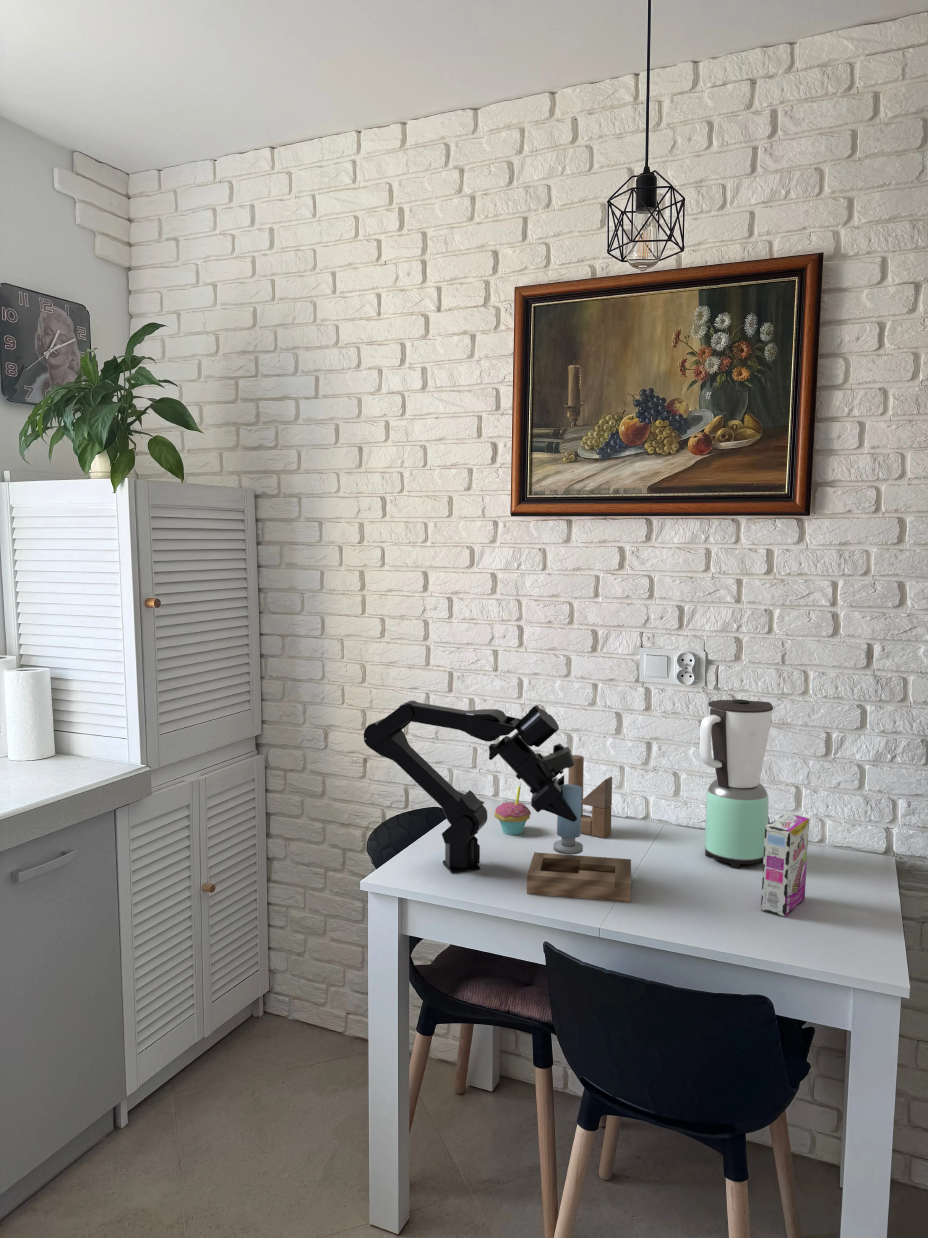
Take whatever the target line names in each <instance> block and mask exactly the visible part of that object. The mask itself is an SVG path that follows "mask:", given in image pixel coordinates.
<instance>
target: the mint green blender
mask: <svg viewBox="0 0 928 1238" xmlns="http://www.w3.org/2000/svg"><path fill="white" fill-rule="evenodd" d="M707 705H708V715H707V716H705V717H703V719H702V720H701V723H700V726H699V747H698V748H699V757H700V759H701V761H702V762H703V764H704V765H706V767H707V766H708V767H709V768H712V769H713V768H714V769H715V775H716V779H714V780H713V781H711V783H710V785H709V787H708V788H707V792H706V798H705V799H706V801H705V802H706V803H705V805H706V806H705V828H704V829H705V830H704V831H705V832H704V849H705V850H704V852H705V854H704V856H705V857H707V858H713V859H714V860H717V861H720V862H722V863H723V862H724V863H727V864H730V868H732V869H736V870H737V869H740V868H741V865H753V864H760V863H761V864H763V859H764V840H765V826H766V825H768V824H769V823H771V820H770V817H769V802H770V801H769V794H768V792H767V789H766V788H765V787H764V785H763V784H762V783H760V781H761V777H762V776H761V775H762V771H763V766H764V765H763V764H764V760H765V755H766V750H767V746H768V739H769V735H770V730H771V725H772V719H773V718H772V717H773V710H774V706H773V705H772V703H771V702H769V701H758V700H747V699H739V698H737V699H718V700H712V701H709V702H708V703H707ZM712 752H713V753H712ZM712 754H713V757H712Z"/></svg>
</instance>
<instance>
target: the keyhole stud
mask: <svg viewBox="0 0 928 1238" xmlns="http://www.w3.org/2000/svg"><path fill="white" fill-rule="evenodd" d="M562 786H563V797H564V799H565V800H566V802H567V803H568V805H569V806H570V808H571V809H572V811H573V812H574V814H575V815H576V817H577V820H576V821H575V822H572V821H570V820H567V819H565V818H563V817H560V816H558V815H556V817H557V819H556V835H557V836H558V837H561V839H559V840H556V841H554V842H553V847H552V848H553V851H555V853H557V854H565V855H579V854H581V853H582V852H583V849H584V844H583V843H582V842H580V841H576V838H580V837H581V833H580V831H581V801H582V787H580V786H578V785H572V784H567V783H566V784H565V783H564V785H560V788H561V787H562Z"/></svg>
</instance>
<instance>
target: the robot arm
mask: <svg viewBox="0 0 928 1238" xmlns="http://www.w3.org/2000/svg"><path fill="white" fill-rule="evenodd" d="M411 722H412V723H418V724H424V725H430V726H434V727H435V726H436V727H439V728H440V727H441V728H446V729H452V730H458V731H461V732H464V733H466V734H468V735H469V736H471V737H472V738H476V739H478V740H481V741H484V742H486V743H488V742H490V745H489V746H488V750H489V753H488V759H489V761H492V760H493V759H494V758H496V757H497V756H498V755H499V757H500V758H501V759H502V760H503V761H504V762H505V763H506V764H507V765H508V767H510V768H511V769H512V770H513V771H514V772H515V777H516V778H517V779H518V780H519V781H520V780H522V782H524V783H525V784H526V786H528V787H529V792H530V793H531V794H532V796H531V799H530V801H531V803H530V806H531V807H532V808H533V809H534V811H535V812H537V813H539V812H541V811H545V812H548V813H550V814H553V815H556V816H557V815H558V816H560V817H563V818H565V819H567V820H570V821H572V822H575V821H576V820H577V817H576V815H575V814H574V812H573V811H572V809H571V808H570V806H569V805H568V803H567V802H566V800H565V799H564V797H563V786H562V787H561V788H560V785H564V784H565V775H562V774H563V773H564V770H565V769H569V768H570V767H572V766H574V762H575V760H574V758H573V756H572V755H573V753H572V751H571V749H570V747H568V746H564V745H563V744H561V743H557V744H555V745H553V750H552V752H550V753H548V754H547V755H545V756H544V755H543V754H542V753H540V752H535V751H534V750H533V749H532V748H531V747H536V748H539V747H541V746H542V745H543V744H544V743H545V742H546V741H548V739H550V738H552V736H553V735H554V734H556V732H558V731H559V730H560V726H559V724H558V722H557V721H556V719H555V718H554V717H553V715H552V714H551V713H548V712H547V711H545V710H544V709H542V708H541V707H540V706H539V705H538V704H535V705H534V706H532V708H530V710H529V711H528V712H527V713H526V714H525V715H524V716H523V717H522V718H517V717H514V716H509V715H506V714H505V712H504V711H503V710H501V709H497V708H493V709H489V708H488V709H487V708H485V709H484V708H481V709H474V710H473V709H471V710H469V709H468V710H465V709H459V708H453V707H446V706H440V705H435V704H431V703H423V702H418V701H416V700H408V701H406V702H404V703H402V704H400V705H399V707H398V708H396V709H395V710H394V711H393V712H391V713H390V714H388V715H387V716H386V717H384V718H382V719H379V720H377V721H375V722H372V723H370V724H368V725H367V726H366V727H365V730H364V732H363V742H364V743H365V745H366V746H367V747H368V748H369V749H371V750H372V751H373V752H375V753H376V754H377V755H378V756H381V757H383V758H385V759H388V760H391V761H393V762H394V763H396V764H397V765H398V766H399V767H400V768H401V769H402V771H404V772H405V773H406V774H407V775H408V776H409V777H410V778H411V779H412V780H413V781H414V782H415V783H416V784H417V785H419V787H420V788H421V789H423V790H424V792H425V793H426V794H428V795H429V796H430V797H431V799H433V800H434V801H435V802H436V804H438V805H439V806H440V807H441V808H442V811H443V814H444V815H445V817H446V820H447V821H448V823H449V824H450V825H449V827H447V828H446V829H445V830H444V831H443V832H441V836H442V839H443V842H444V849H445V851H444V860H442V864H443V865H444V867H445V868H446V869H448V871H449V873H452V874H454V873H455V874H456V873H462V872H465V873H466V872H471V871H480V870H481V866H480V865H479V864H481V863H480V862H481V857H480V856H481V855H480V854H481V853H480V851H481V846H480V844H478V843H479V842H478V841H479V839H478V838H477V837H476V836H475V835H477V834H478V833H479V831H480V830H481V829H483V827H484V826H485V825H486V823H487V821H488V818H489V817H488V809H487V808H486V807H485V806H484V804H485V801H483V800H481V799H479V798H478V797H477V796H476V795H475V793H474V792H473V791H472V790H471V789H470V790H469V789H468V791H467V792H465V793H463V792H460V791H458V790H456V788H455V787H453V786H452V784H450V783H449V782H448V781H447V780H446V779H445V778H444V777H443V776H442V775H441V774H440V773H439V772H438V771H437V770H436V769H435V768H433V766H432V765H430V764H429V762H427V761H426V760H425V759H424V757H422V756H421V755H420V753H418V752H417V751H416V750H415V749H414V748H412V747H411V745H410V743H409V741H408V739H407V736H406V734H405V733H404V731H403V730H404V729H405V728H406V727H407V726H408V725H410V723H411ZM515 730H516V732H515ZM512 732H514V734H513V735H512V736H509V735H510V734H511V733H512ZM502 736H504V737H503V738H502V739H501V740H499V741H498V742H497V743H491V742H494V741H496V740H497V739H499V738H500V737H502ZM559 774H560V775H562V776H560V777H559V778H558V777H557V776H558V775H559Z"/></svg>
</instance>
